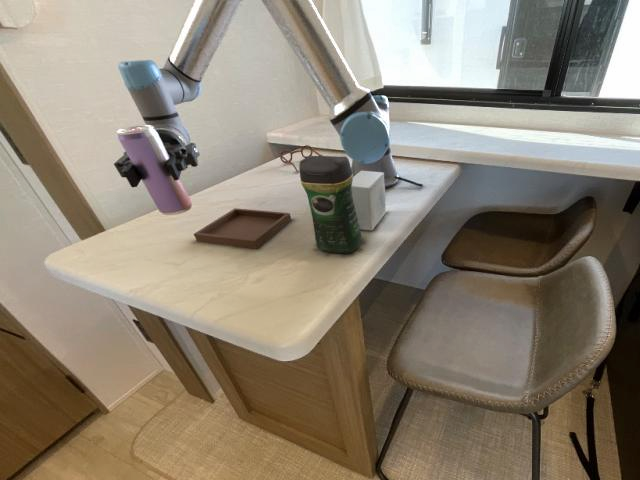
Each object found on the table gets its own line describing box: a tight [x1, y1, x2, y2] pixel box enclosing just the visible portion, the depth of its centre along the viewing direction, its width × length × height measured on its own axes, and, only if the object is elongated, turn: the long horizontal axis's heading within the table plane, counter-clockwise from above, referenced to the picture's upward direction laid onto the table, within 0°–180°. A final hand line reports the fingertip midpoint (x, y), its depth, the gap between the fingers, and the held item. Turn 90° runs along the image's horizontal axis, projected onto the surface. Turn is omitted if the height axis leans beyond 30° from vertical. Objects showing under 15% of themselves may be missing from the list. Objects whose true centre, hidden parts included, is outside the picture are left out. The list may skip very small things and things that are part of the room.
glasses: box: [279, 144, 324, 173], centre depth 116 cm, size 13×13×5 cm
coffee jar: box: [298, 155, 363, 254], centre depth 63 cm, size 10×8×19 cm
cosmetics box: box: [352, 171, 387, 231], centre depth 75 cm, size 10×6×10 cm, turn 163°
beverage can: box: [115, 124, 193, 216], centre depth 60 cm, size 6×6×15 cm
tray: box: [193, 207, 292, 250], centre depth 76 cm, size 17×15×2 cm
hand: (151, 175), depth 56 cm, fingers closed on beverage can, 6 cm apart
